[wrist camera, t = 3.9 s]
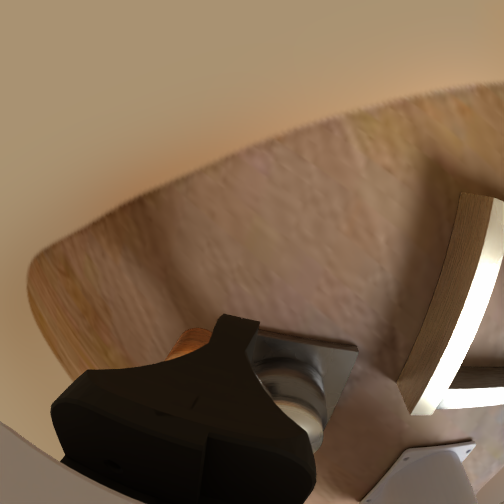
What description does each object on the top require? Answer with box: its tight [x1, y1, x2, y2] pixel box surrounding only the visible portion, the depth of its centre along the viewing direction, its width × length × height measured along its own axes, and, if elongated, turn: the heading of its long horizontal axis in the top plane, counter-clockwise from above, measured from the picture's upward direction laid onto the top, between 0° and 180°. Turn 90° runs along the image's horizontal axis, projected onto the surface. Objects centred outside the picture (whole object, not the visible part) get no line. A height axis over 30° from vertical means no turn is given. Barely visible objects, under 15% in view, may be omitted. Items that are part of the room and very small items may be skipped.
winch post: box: [251, 329, 359, 431], centre depth 15 cm, size 7×7×3 cm
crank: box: [165, 328, 323, 454], centre depth 11 cm, size 9×4×4 cm, turn 31°
